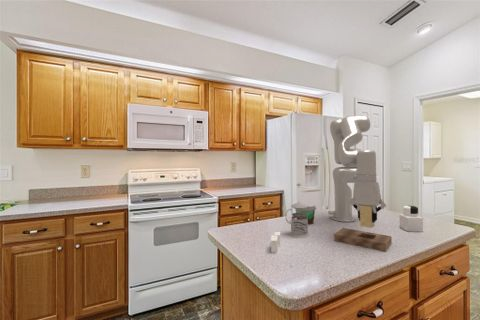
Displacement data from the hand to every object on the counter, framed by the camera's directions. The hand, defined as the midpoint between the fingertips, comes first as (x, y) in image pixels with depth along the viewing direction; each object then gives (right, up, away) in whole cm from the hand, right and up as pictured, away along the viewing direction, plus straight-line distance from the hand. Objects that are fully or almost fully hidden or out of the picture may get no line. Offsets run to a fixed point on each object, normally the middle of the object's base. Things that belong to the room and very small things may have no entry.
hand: (367, 220), depth 102 cm
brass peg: (0, -2, 0) cm, 2 cm away
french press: (-27, -10, +14) cm, 32 cm away
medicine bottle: (+32, -9, +18) cm, 38 cm away
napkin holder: (-39, -11, -3) cm, 41 cm away
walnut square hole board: (-1, -10, +2) cm, 10 cm away
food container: (-18, -10, +33) cm, 39 cm away
